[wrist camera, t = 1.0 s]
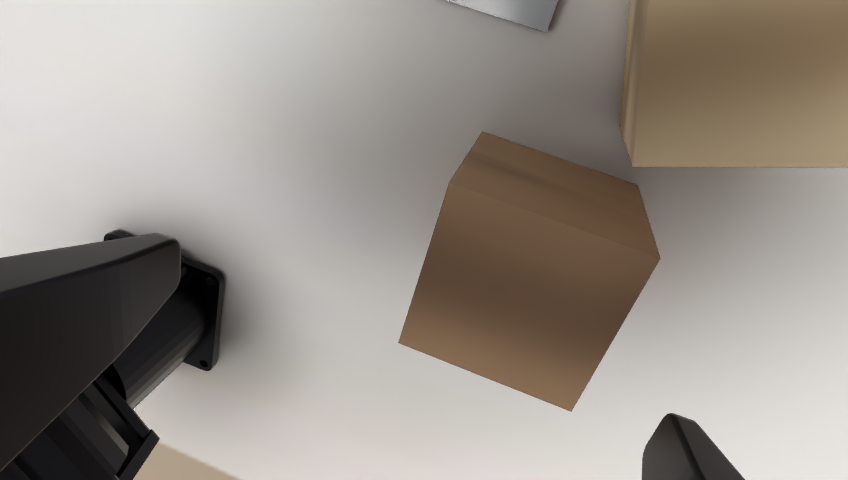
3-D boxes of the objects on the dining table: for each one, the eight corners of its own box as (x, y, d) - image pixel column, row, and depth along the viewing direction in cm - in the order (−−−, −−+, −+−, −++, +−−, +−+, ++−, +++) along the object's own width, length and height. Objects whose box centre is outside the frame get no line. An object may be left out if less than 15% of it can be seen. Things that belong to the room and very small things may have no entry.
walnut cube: (572, 311, 22) (571, 411, 17) (439, 261, 23) (398, 342, 17) (637, 184, 19) (660, 258, 14) (482, 131, 20) (449, 182, 15)
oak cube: (780, 122, 17) (851, 167, 13) (619, 125, 18) (632, 166, 14) (817, -52, 15) (915, -68, 11) (632, -35, 16) (652, -44, 12)
